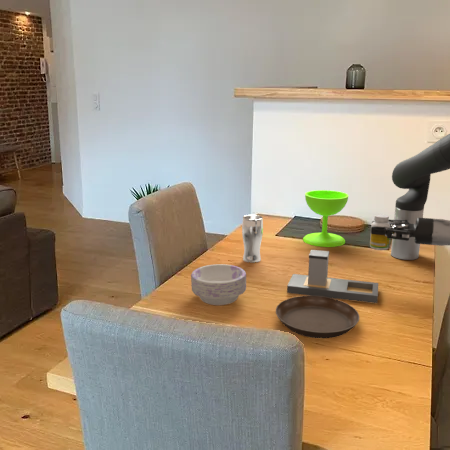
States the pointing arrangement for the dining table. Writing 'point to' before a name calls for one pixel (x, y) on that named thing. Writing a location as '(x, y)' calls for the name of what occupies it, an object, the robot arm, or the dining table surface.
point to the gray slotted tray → (330, 282)
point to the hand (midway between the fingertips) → (371, 227)
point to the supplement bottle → (380, 240)
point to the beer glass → (252, 237)
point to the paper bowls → (218, 283)
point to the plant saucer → (317, 316)
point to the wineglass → (325, 215)
